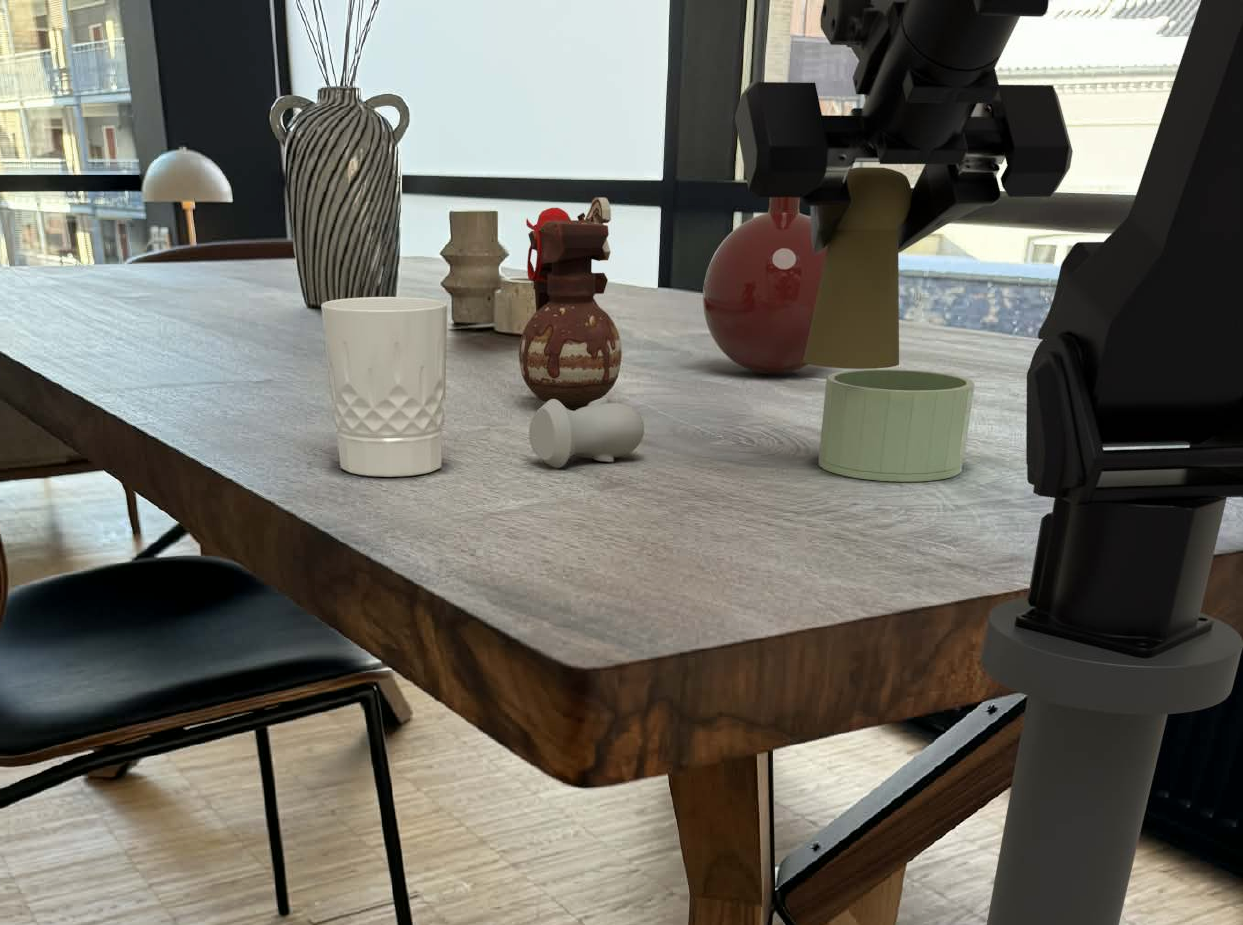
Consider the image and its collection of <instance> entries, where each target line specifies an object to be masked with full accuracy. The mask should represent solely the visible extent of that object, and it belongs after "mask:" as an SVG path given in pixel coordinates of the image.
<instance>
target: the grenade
mask: <svg viewBox="0 0 1243 925" xmlns="http://www.w3.org/2000/svg"><path fill="white" fill-rule="evenodd" d="M576 218H577V220H575V219H571V217H570V216H569V214H568V212H566V211H565V210H564V209H563V208H560V207H550V208H547V209H545V210H543V211H541V212H540V213H539V215H538V218H537V222H536V224H534V225H533V224H532V223H531V222H530V221H529V219H528V218H526V220H525V222H526V227H528V228H529V229H531V230H530V232H529V233H528V239H529V242H530V245H529V248H528V253H527V265H526V268H527V270H526V272H527V279H528V280H529V281H531V282H532V283H533V287H532V289H533V290H534V300H535V312H534V313H533V315H532V316H531V317H530V319H529V320H528V322H527V324H526V326H525V327H524V329H523V331H522V334H521V338H520V342H519V350H518V359H519V360H518V361H519V368H520V373H521V376H522V378H523V380H524V383H525V385H526V386H527V388H528V389H529V390H530V392H532V393H533V394H534V396H536V398H538V399H539V400H541V401H542V402H543V403H546V402H547V401H549V400H551V399H556V400H558V401H559V402H561V403H562V404H563V405H564V406H565V407H566V408H567V409H580V408H582V407H586V406H588V404H589V403H590V402H592V401H594V400H597V399H601V398H604V397H605V396H606V395H607V394H608V393H609V392H610V390H611V389H612V388H613V387H614V386H615V384H616V382H617V380H618V378H619V374H620V371H621V370H620V369H621V364H622V355H623V352H622V341H621V337H620V334H619V331H618V329H617V326H616V324H615V322H614V320H612V318H611V316H610V315H609V313H607V312H606V311H604V309H603V308H601V307H600V306H599V304H598V303H597V301H596V300H595V298H594V297H595V295H604V293H605V291H606V288H607V285H608V281H609V279H608V278H607V275H606V273H605V272H592V264H593V263H592V262H593V261H596V262H600V261H601V262H602V261H609V260H610V255H611V248H610V245H609V242H608V237H609V235H610V233H609V226H608V225H607V224H608V223H609V222H611V221H612V210H611V205H610V202H609V200H608V198H607V197H595V198H593V199H592V201H591V204H590V207H589V209H588V212H587V214H585V212H581V213H580V214H579V215H577V216H576ZM533 250H534V251H535V252H536V260H535V261H536V262H535V267H534V265H533V264H532V261H531V259H532V253H533Z"/></svg>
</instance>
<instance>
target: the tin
mask: <svg viewBox="0 0 1243 925" xmlns="http://www.w3.org/2000/svg"><path fill="white" fill-rule="evenodd" d="M825 380H826V382H825V391H824V400H823V411H822V423H821V433H820V441H819V442H820V443H819V450H818V451H819V453H818V466H819V467H820V469H823V470H825V471H827V472H828V473H829V472H830V473H831V474H835V475H839V476H843V477H847V478H848V477H849V478H854V479H860V480H868V481H877V482H891V483H892V482H893V483H894V482H895V483H897V482H898V483H915V482H917V483H918V482H931V481H933V482H934V481H940V480H946V479H949V478H950V479H951V478H953V477H956V476H958V475H960V474H961V472H962V469H963V464H964V461H965V454H966V448H967V447H966V446H967V441H968V433H969V426H970V420H971V412H972V407H973V406H972V405H973V400H974V399H973V398H974V392H975V385H976V384H975V382H974V380H972V379H969V378H967V377H964V376H961V375H957V374H952V373H945V372H939V371H938V372H936V371H930V370H917V369H903V368H902V369H900V368H899V369H897V368H876V369H848V370H842V371H839V372H838V371H837V372H833V373H830V374H828V375H827V376H826V379H825Z"/></svg>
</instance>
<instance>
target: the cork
mask: <svg viewBox="0 0 1243 925" xmlns="http://www.w3.org/2000/svg"><path fill="white" fill-rule="evenodd" d="M846 178H847V182H848V187H849V192H850V196H851V203H850V205H849V207H848V209H847V211H846V212H845V214H844V216H843V218H842V219H841V221H840V223H839V225H838V227H837V228H836V230H835V232H834V234H833V236H832V237H831V239H830V241H829V243H828V246H827V251H826V256H825V260H824V265H823V270H822V275H821V280H820V284H819V289H818V294H817V299H816V303H815V308H814V313H813V318H812V323H811V327H810V332H809V337H808V342H807V347H806V351H805V356H804V362H805V363H807V364H809V365H812V366H816V367H823V368H833V369H848V370H862V369H889V368H893V367H897V366H899V365H900V297H899V296H900V293H899V292H900V291H899V289H900V286H899V285H900V284H899V282H900V278H899V276H900V275H899V274H900V273H899V270H900V269H899V268H900V267H899V265H900V264H899V253H898V229H899V227H900V226H901V225H902V223H903V222H904V221H905V219H906V218H907V215H908V212H909V209H910V205H911V198H912V194H911V192H912V186H911V183H910V180H909V178H908V176H906V175H905V174H904V173H903V172H901V171H898V170H895V169H892V168H888V167H876V166H875V167H873V166H872V167H871V166H870V167H867V166H866V167H865V166H864V167H852V168H851V169H850V170H849V172H848V175H847V177H846Z"/></svg>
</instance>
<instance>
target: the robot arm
mask: <svg viewBox="0 0 1243 925" xmlns="http://www.w3.org/2000/svg"><path fill="white" fill-rule="evenodd" d="M1049 2H1050V0H823V4H822V7H821V14H820V17H819V18H820V20H819V21H820V22H819V24H820V29H821V31H822V33H823V34H824V36H825V38H826V39H827V41H828V43H829V44H830V45H831V46H846V47H847V48H851V50H852V52H853V53H854V55H855V56H856V58H857V60H858V62H857V65H856V67H855V70H854V72H853V76H852V82H853V86H854V91H855V94H856V95H859V96H860V95H862V96H863V95H864V96H863V97H864V99H865V101H864V104H863V106H862V107H854V108H851V110H850V112H849V114H848V115H844V114H843V115H842V114H841V115H840V114H839V115H831V114H830V115H829V114H828V115H827V114H825V115H824V114H823V112H822V108H821V103H820V100H819V98H820V97H819V94H818V89H817V84H816V82H799V81H798V82H795V81H794V82H793V81H792V82H788V81H786V82H785V81H784V82H782V81H755V82H750V83H749V84H748V86H747V87H746V88H745V89H744V90H743V92H742V93H741V95H740V98H739V102H738V106H737V109H736V112H735V116H734V121H735V126H736V131H737V137H738V141H739V146H740V152H741V157H742V163H743V168H744V173H745V177H746V183H747V188H748V190H749V191H750V192H751V193H752V194H754V195H755V196H756V197H758V198H770V197H799V199H800V202H801V204H803V206H807V207H810V218H811V243H812V248H813V252H814V253H820V252H821V251H822V250H823V249H824V248H825V247H826V245H827V244H828V243H829V241H830V239H831V237H832V236H833V234H834V232H835V230H836V228H837V227H838V225H839V223H840V221H841V219H842V218H843V216H844V214H845V212H846V211H847V209H848V207H849V205H850V203H851V196H850V192H849V187H848V182H847V178H846V177H847V175H848V172H849V170H850V169H852V168H853V166H854V164H855V163H879V165H924V166H923V168H922V170H921V172H920V174H919V176H918V178H917V180H916V182H915V184H914V186H913V188H912V189H911V194H912V198H911V205H910V209H909V212H908V215H907V218H906V219H905V221H904V222H903V223H902V225H901V226H900V227H899V229H898V254H900V253H902V252H903V251H905V250H906V249H908V248H910V247H912V246H914V245H915V244H916V243H918V242H920V241H922V240H923V239H925V238H927V237H929V235H931V234H933V233H935V232H936V231H939V229H941V228H943V227H945V226H946V225H948V224H950V223H952V222H954V221H956V220H958V219H960V218H962V217H964V216H965V215H968V214H970V213H972V212H973V211H975V210H976V211H977V209H979V208H982V207H990V206H994V205H996V203H997V202H998V201H999V200H1000V198H1001V195H1002V194H1001V189H1000V185H999V181H998V177H997V176H998V174H999V172H1000V170H1001V167H1000V165H1003V163H1004V162H1006V167H1005V169H1004V171H1003V172H1002V174H1001V176H1000V178H999V179H1000V182H1001V187H1002V188H1003V190H1004V191H1005V193H1006V195H1007V196H1008V197H1009V198H1051V197H1052V196H1053V195H1054V194H1055V192H1056V191H1057V190H1058V189H1059V187H1060V185H1061V183H1062V182H1063V180H1064V179H1065V177H1066V175H1067V174H1068V172H1069V170H1070V169H1071V165H1072V164H1071V163H1072V159H1073V147H1072V143H1071V139H1070V135H1069V132H1068V128H1067V124H1066V121H1065V118H1064V114H1063V110H1062V106H1061V102H1060V98H1059V96H1058V94H1057V91H1056V89H1055V87H1054V85H1053V84H1000V83H999V79H998V75H997V71H996V67H997V64H998V62H999V60H1000V58H1001V56H1002V55H1003V52H1004V50H1005V49H1006V46H1007V44H1008V42H1009V40H1010V38H1011V36H1012V34H1013V32H1014V30H1015V28H1016V26H1017V24H1018V22H1019V20H1020V18H1021V17H1031V18H1033V17H1034V18H1035V17H1036V18H1040V17H1041V18H1042V17H1044V16H1045V15H1046V13H1048V9H1049ZM1058 274H1059V275H1058V277H1057V282H1056V287H1055V290H1054V294H1053V298H1052V302H1051V305H1050V307H1049V310H1048V312H1047V316H1046V318H1045V319H1044V321H1043V323H1042V324H1041V327H1040V328H1039V330H1038V333H1037V338H1038V339H1039V340H1040V342H1039V344H1038V345H1037V346H1036V349H1035V351H1034V353H1033V356H1032V358H1031V361H1030V365H1029V368H1028V370H1027V371H1026V424H1025V425H1026V427H1025V428H1026V429H1025V430H1026V431H1025V432H1026V434H1025V435H1026V436H1025V438H1026V440H1025V441H1026V442H1025V446H1026V450H1025V454H1026V455H1025V463H1026V480H1027V483H1028V484H1029V485H1033V491H1032V493H1033V494H1035V495H1037V496H1039V497H1045V498H1053V499H1054V500H1053V505H1052V511H1051V512H1047V513H1046V514H1045V515H1044V516H1042V517H1041V518H1040V519H1041V520H1040V526H1039V531H1038V537H1037V542H1036V547H1035V554H1034V560H1033V565H1032V572H1031V576H1030V583H1029V589H1028V593H1027V596H1028V599H1027V600H1028V603H1029V605H1030V606H1033V607H1035V608H1033V609H1031V610H1028V611H1025V612H1023V613H1020V614H1018V615H1016V620H1015V626H1017V627H1019V628H1023V629H1027V630H1031V631H1035V632H1039V633H1043V634H1047V635H1051V636H1055V637H1059V638H1063V639H1066V640H1070V641H1074V642H1078V643H1082V644H1086V645H1090V646H1094V647H1098V648H1102V649H1106V650H1110V651H1114V652H1118V653H1122V654H1126V655H1130V656H1134V657H1138V658H1152V657H1154V656H1156V655H1159V654H1161V653H1163V652H1165V651H1167V650H1169V649H1172V648H1174V647H1176V646H1178V645H1180V644H1182V643H1185V642H1187V641H1189V640H1191V639H1193V638H1195V637H1198V636H1200V635H1202V634H1204V633H1206V632H1208V631H1210V630H1211V629H1212V625H1213V619H1211V618H1208V617H1204V616H1199V614H1200V613H1201V609H1202V606H1203V602H1204V597H1205V593H1206V588H1207V584H1208V580H1209V576H1210V571H1211V567H1212V564H1213V559H1214V554H1215V550H1216V545H1217V542H1218V537H1219V533H1220V528H1221V524H1222V520H1223V515H1224V512H1225V507H1226V503H1227V499H1228V498H1243V0H1200V2H1199V5H1198V8H1197V11H1196V13H1195V17H1194V20H1193V22H1192V26H1191V30H1190V32H1189V34H1188V38H1187V41H1186V44H1185V46H1184V49H1183V52H1182V55H1181V59H1180V62H1179V65H1178V68H1177V70H1176V74H1175V76H1174V80H1173V83H1172V86H1171V89H1170V92H1169V95H1168V98H1167V101H1166V104H1165V107H1164V109H1163V113H1162V116H1161V118H1160V121H1159V125H1158V128H1157V131H1156V134H1155V137H1154V140H1153V143H1152V146H1151V150H1150V152H1149V155H1148V158H1147V161H1146V164H1145V167H1144V170H1143V173H1142V176H1141V179H1140V182H1139V185H1138V188H1137V191H1136V194H1135V197H1134V200H1133V202H1132V205H1131V208H1130V210H1129V212H1128V215H1127V217H1126V218H1125V219H1124V220H1123V222H1121V223H1120V224H1119V225H1118V226H1117V227H1116V229H1115V230H1113V231H1112V232H1111V234H1110V235H1108V236H1107V237H1106V239H1105V240H1104V241H1077V242H1076V243H1074V244H1073V246H1072V247H1071V249H1070V250H1069V251H1068V253H1067V255H1066V256H1065V258H1064V259H1063V260H1062V262H1061V265H1060V269H1059V273H1058ZM1169 446H1172V447H1169ZM1173 446H1189V447H1173ZM1131 447H1133V448H1131ZM1134 447H1135V448H1134ZM1137 447H1139V448H1137ZM1140 447H1156V448H1140ZM1157 447H1159V448H1157ZM1163 447H1164V448H1163ZM1104 448H1126V449H1104ZM1127 448H1129V449H1127Z"/></svg>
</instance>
